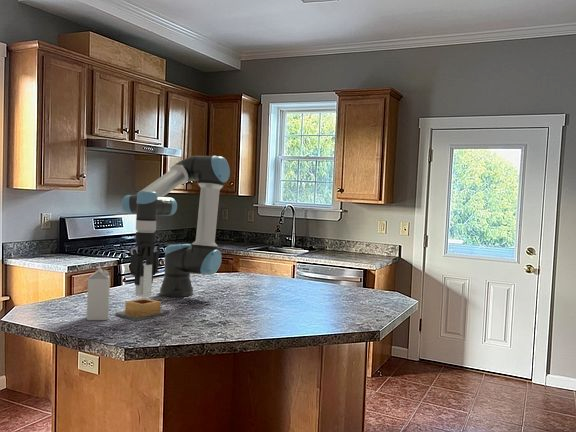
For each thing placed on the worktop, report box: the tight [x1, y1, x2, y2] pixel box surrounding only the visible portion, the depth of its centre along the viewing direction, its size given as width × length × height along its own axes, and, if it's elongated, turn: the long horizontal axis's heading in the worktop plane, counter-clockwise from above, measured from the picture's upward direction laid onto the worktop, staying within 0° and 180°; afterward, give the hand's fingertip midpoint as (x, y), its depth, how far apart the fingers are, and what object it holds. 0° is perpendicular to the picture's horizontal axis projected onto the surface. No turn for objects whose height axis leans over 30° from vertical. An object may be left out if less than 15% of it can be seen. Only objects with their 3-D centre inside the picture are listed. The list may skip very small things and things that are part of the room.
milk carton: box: [86, 265, 111, 321], centre depth 191 cm, size 7×7×19 cm
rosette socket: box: [115, 297, 170, 322], centre depth 200 cm, size 16×12×5 cm
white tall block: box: [135, 263, 152, 298], centre depth 200 cm, size 4×4×12 cm
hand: (143, 292), depth 200 cm, fingers closed on white tall block, 4 cm apart
